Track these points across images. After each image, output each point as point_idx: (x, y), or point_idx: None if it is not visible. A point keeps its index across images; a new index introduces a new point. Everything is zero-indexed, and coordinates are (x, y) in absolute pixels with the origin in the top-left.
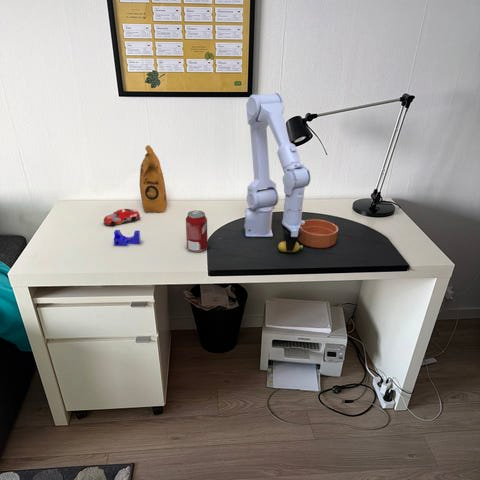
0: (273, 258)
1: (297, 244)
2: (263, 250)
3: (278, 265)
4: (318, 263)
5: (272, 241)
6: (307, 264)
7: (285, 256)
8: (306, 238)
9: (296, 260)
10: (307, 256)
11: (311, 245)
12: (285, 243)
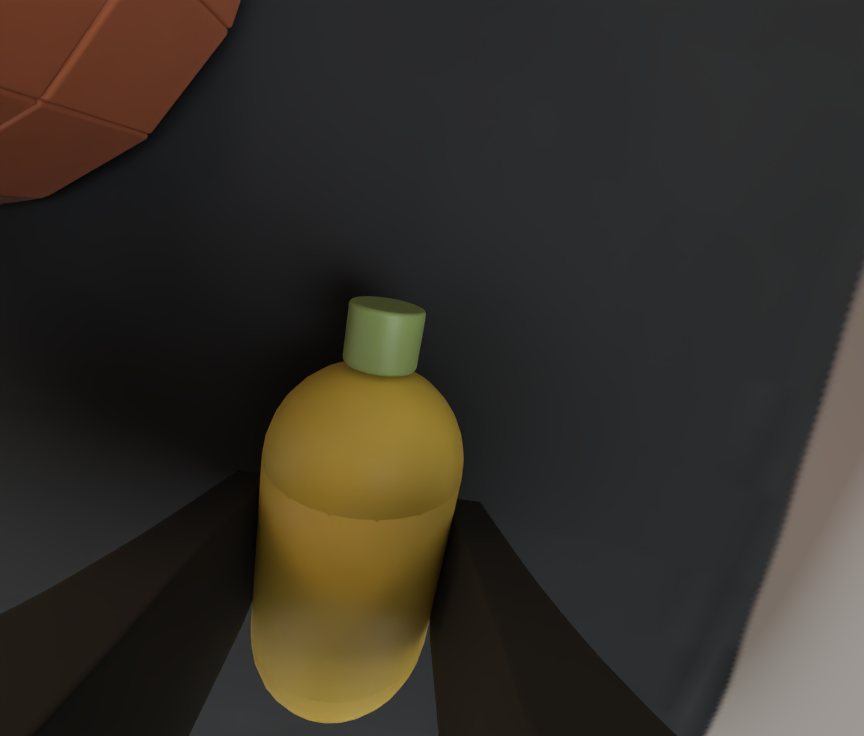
0: None
1: (422, 464)
2: (290, 719)
3: (669, 656)
4: (833, 134)
5: (19, 592)
6: (784, 331)
7: None
8: (30, 91)
9: (623, 443)
10: (551, 240)
11: (225, 11)
12: (376, 679)
